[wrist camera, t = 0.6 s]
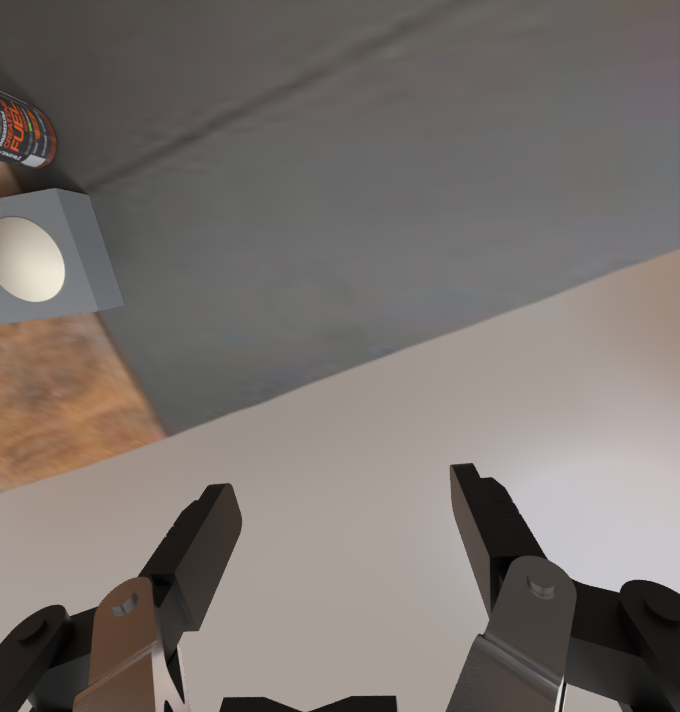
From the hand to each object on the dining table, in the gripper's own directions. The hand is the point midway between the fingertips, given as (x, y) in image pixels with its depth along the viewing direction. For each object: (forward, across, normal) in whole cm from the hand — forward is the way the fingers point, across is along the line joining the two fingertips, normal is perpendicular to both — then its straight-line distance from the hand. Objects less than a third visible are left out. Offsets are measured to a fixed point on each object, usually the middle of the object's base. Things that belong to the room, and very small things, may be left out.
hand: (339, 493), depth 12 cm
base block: (+27, +33, -12) cm, 44 cm away
